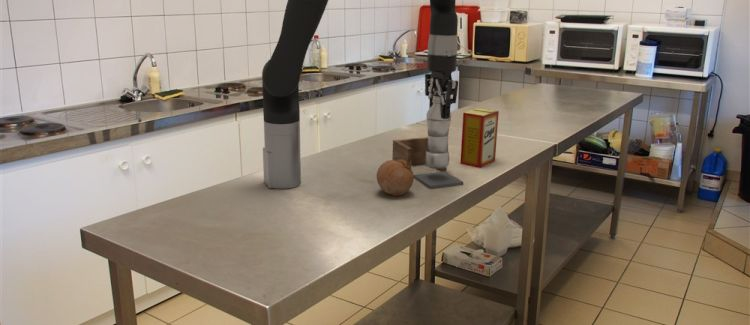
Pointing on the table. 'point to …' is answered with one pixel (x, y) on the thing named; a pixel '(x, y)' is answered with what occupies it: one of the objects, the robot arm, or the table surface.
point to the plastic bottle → (437, 136)
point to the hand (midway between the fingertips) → (439, 115)
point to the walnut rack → (411, 151)
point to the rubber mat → (438, 180)
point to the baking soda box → (479, 137)
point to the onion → (395, 177)
